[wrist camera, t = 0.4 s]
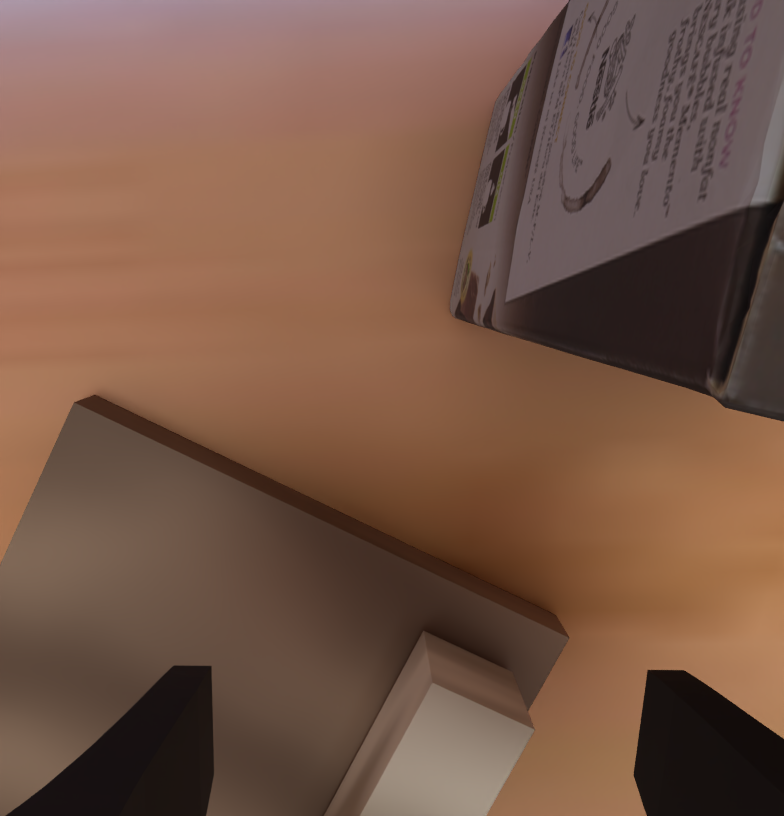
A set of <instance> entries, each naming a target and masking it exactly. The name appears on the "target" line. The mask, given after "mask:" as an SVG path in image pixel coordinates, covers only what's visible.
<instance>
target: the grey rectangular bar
mask: <svg viewBox="0 0 784 816" xmlns="http://www.w3.org/2000/svg"><path fill="white" fill-rule="evenodd" d="M534 730H535V729H534V726H533V723H532V721H531V718H530V716H529V713H528V711H527V708H526V706H525V703H524V700H523V698H522V695H521V693H520V690H519V688H518V685H517V683H516V680H515V677H514V675H513V672H511V671H509V670H507V669H505V668H503V667H500V666H498V665H496V664H494V663H492V662H490V661H488V660H485V659H483V658H481V657H479V656H477V655H475V654H473V653H470V652H468V651H466V650H464V649H462V648H460V647H458V646H455V645H453V644H451V643H449V642H447V641H445V640H443V639H440V638H438V637H436V636H434V635H432V634H430V633H428V632H425V631H423V632H422V634H421V636H420V638H419V640H418V642H417V644H416V645H415V647H414V649H413V651H412V653H411V655H410V657H409V658H408V660H407V662H406V664H405V666H404V668H403V670H402V671H401V673H400V675H399V677H398V679H397V681H396V683H395V685H394V686H393V688H392V690H391V692H390V694H389V696H388V698H387V699H386V701H385V703H384V705H383V707H382V709H381V711H380V712H379V714H378V716H377V718H376V720H375V722H374V724H373V725H372V727H371V729H370V731H369V733H368V735H367V737H366V738H365V740H364V742H363V744H362V746H361V748H360V750H359V751H358V753H357V755H356V757H355V759H354V761H353V763H352V764H351V766H350V768H349V770H348V772H347V774H346V776H345V777H344V779H343V781H342V783H341V785H340V787H339V789H338V790H337V792H336V794H335V796H334V798H333V800H332V802H331V803H330V805H329V807H328V809H327V811H326V813H325V815H324V816H486V815H487V813H488V811H489V809H490V808H491V806H492V804H493V802H494V801H495V799H496V797H497V795H498V794H499V792H500V790H501V788H502V787H503V785H504V783H505V781H506V780H507V778H508V776H509V774H510V773H511V771H512V769H513V767H514V766H515V764H516V762H517V760H518V759H519V757H520V755H521V753H522V751H523V750H524V748H525V746H526V744H527V743H528V741H529V739H530V737H531V736H532V734H533V732H534Z"/></svg>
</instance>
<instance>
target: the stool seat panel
mask: <svg viewBox="0 0 784 816" xmlns="http://www.w3.org/2000/svg"><path fill="white" fill-rule="evenodd" d="M423 631H425V632H428V633H430V634H432V635H434V636H436V637H438V638H440V639H443V640H445V641H447V642H449V643H451V644H453V645H455V646H458V647H460V648H462V649H464V650H466V651H468V652H470V653H473V654H475V655H477V656H479V657H481V658H483V659H485V660H488V661H490V662H492V663H494V664H496V665H498V666H500V667H503V668H505V669H507V670H509V671H511V672H513V675H514V677H515V680H516V683H517V685H518V688H519V690H520V693H521V695H522V698H523V700H524V703H525V706H526V708H527V711H528V710H529V708H530V707H531V705H532V703H533V701H534V700H535V698H536V696H537V694H538V692H539V691H540V689H541V687H542V685H543V684H544V682H545V680H546V678H547V677H548V675H549V673H550V671H551V669H552V668H553V666H554V664H555V662H556V661H557V659H558V657H559V655H560V654H561V652H562V650H563V648H564V646H565V645H566V643H567V641H568V639H569V636H568V635H567V633H566V631H565V630H564V628H563V626H562V625H561V623H560V621H559V620H558V618H557V616H556V615H554V614H552V613H550V612H548V611H546V610H544V609H542V608H539V607H537V606H535V605H533V604H531V603H529V602H527V601H525V600H523V599H521V598H518V597H516V596H514V595H512V594H510V593H508V592H506V591H504V590H502V589H500V588H498V587H495V586H493V585H491V584H489V583H487V582H485V581H483V580H481V579H479V578H477V577H475V576H472V575H470V574H468V573H466V572H464V571H462V570H460V569H458V568H456V567H454V566H451V565H449V564H447V563H445V562H443V561H441V560H439V559H437V558H435V557H433V556H431V555H428V554H426V553H424V552H422V551H420V550H418V549H416V548H414V547H412V546H410V545H408V544H405V543H403V542H401V541H399V540H397V539H395V538H393V537H391V536H389V535H387V534H385V533H382V532H380V531H378V530H376V529H374V528H372V527H370V526H368V525H366V524H364V523H361V522H359V521H357V520H355V519H353V518H351V517H349V516H347V515H345V514H343V513H341V512H338V511H336V510H334V509H332V508H330V507H328V506H326V505H324V504H322V503H320V502H318V501H315V500H313V499H311V498H309V497H307V496H305V495H303V494H301V493H299V492H297V491H295V490H292V489H290V488H288V487H286V486H284V485H282V484H280V483H278V482H276V481H274V480H271V479H269V478H267V477H265V476H263V475H261V474H259V473H257V472H255V471H253V470H251V469H248V468H246V467H244V466H242V465H240V464H238V463H236V462H234V461H232V460H230V459H228V458H225V457H223V456H221V455H219V454H217V453H215V452H213V451H211V450H209V449H207V448H204V447H202V446H200V445H198V444H196V443H194V442H192V441H190V440H188V439H186V438H184V437H181V436H179V435H177V434H175V433H173V432H171V431H169V430H167V429H165V428H163V427H161V426H158V425H156V424H154V423H152V422H150V421H148V420H146V419H144V418H142V417H140V416H138V415H135V414H133V413H131V412H129V411H127V410H125V409H123V408H121V407H119V406H117V405H114V404H112V403H110V402H108V401H106V400H104V399H102V398H100V397H98V396H96V395H93V396H90V397H88V398H85V399H82V400H79V401H77V402H74V404H73V406H72V408H71V410H70V412H69V415H68V417H67V419H66V421H65V423H64V426H63V428H62V430H61V432H60V434H59V437H58V439H57V441H56V443H55V445H54V448H53V450H52V452H51V454H50V456H49V459H48V461H47V463H46V465H45V467H44V470H43V472H42V474H41V476H40V478H39V481H38V483H37V485H36V487H35V489H34V492H33V494H32V496H31V498H30V500H29V503H28V505H27V507H26V509H25V511H24V514H23V516H22V518H21V520H20V522H19V525H18V527H17V529H16V531H15V533H14V536H13V538H12V540H11V542H10V544H9V547H8V549H7V551H6V553H5V555H4V558H3V560H2V562H1V564H0V816H6V815H7V814H8V813H10V812H11V811H12V810H14V809H15V808H17V807H18V806H19V805H21V804H22V803H23V802H25V801H26V800H27V799H29V798H30V797H31V796H33V795H34V794H35V793H36V792H38V791H39V790H40V789H42V788H43V787H44V786H45V785H47V784H48V783H49V782H50V781H51V780H52V779H54V778H55V777H56V776H57V775H58V774H59V773H61V772H62V771H63V770H64V769H65V768H66V767H68V766H69V765H70V764H71V763H72V762H73V761H75V760H76V759H77V758H78V757H79V756H80V755H82V754H83V753H84V752H85V751H86V750H87V749H88V748H89V747H90V746H91V745H93V744H94V743H95V742H96V741H97V740H98V739H99V738H100V737H101V736H102V735H103V734H104V733H105V732H106V731H107V730H108V729H109V728H110V727H112V726H113V725H114V724H115V723H116V722H117V721H118V720H119V719H120V718H121V717H122V716H123V715H124V714H125V713H126V712H127V711H128V710H129V709H130V708H131V707H132V706H133V705H134V704H135V703H136V702H137V701H138V700H139V699H140V698H141V697H142V696H143V695H144V694H145V693H146V692H147V691H148V690H149V689H150V688H151V687H152V686H153V685H154V684H155V683H156V682H157V681H158V680H159V679H160V678H161V677H162V676H163V675H164V674H165V673H166V672H167V671H168V670H169V669H170V668H171V667H172V666H174V665H184V666H212V706H213V746H214V777H213V783H212V788H211V793H210V798H209V804H208V809H207V814H206V816H324V815H325V813H326V811H327V809H328V807H329V805H330V803H331V802H332V800H333V798H334V796H335V794H336V792H337V790H338V789H339V787H340V785H341V783H342V781H343V779H344V777H345V776H346V774H347V772H348V770H349V768H350V766H351V764H352V763H353V761H354V759H355V757H356V755H357V753H358V751H359V750H360V748H361V746H362V744H363V742H364V740H365V738H366V737H367V735H368V733H369V731H370V729H371V727H372V725H373V724H374V722H375V720H376V718H377V716H378V714H379V712H380V711H381V709H382V707H383V705H384V703H385V701H386V699H387V698H388V696H389V694H390V692H391V690H392V688H393V686H394V685H395V683H396V681H397V679H398V677H399V675H400V673H401V671H402V670H403V668H404V666H405V664H406V662H407V660H408V658H409V657H410V655H411V653H412V651H413V649H414V647H415V645H416V644H417V642H418V640H419V638H420V636H421V634H422V632H423Z"/></svg>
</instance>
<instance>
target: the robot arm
mask: <svg viewBox="0 0 784 816" xmlns="http://www.w3.org/2000/svg"><path fill="white" fill-rule="evenodd" d="M213 777H214V746H213V706H212V666H184V665H174V666H172V667H171V668H170V669H169V670H168V671H167V672H166V673H165V674H164V675H163V676H162V677H161V678H160V679H159V680H158V681H157V682H156V683H155V684H154V685H153V686H152V687H151V688H150V689H149V690H148V691H147V692H146V693H145V694H144V695H143V696H142V697H141V698H140V699H139V700H138V701H137V702H136V703H135V704H134V705H133V706H132V707H131V708H130V709H129V710H128V711H127V712H126V713H125V714H124V715H123V716H122V717H121V718H120V719H119V720H118V721H117V722H116V723H115V724H114V725H113V726H112V727H110V728H109V729H108V730H107V731H106V732H105V733H104V734H103V735H102V736H101V737H100V738H99V739H98V740H97V741H96V742H95V743H94V744H93V745H91V746H90V747H89V748H88V749H87V750H86V751H85V752H84V753H83V754H82V755H80V756H79V757H78V758H77V759H76V760H75V761H73V762H72V763H71V764H70V765H69V766H68V767H66V768H65V769H64V770H63V771H62V772H61V773H59V774H58V775H57V776H56V777H55V778H54V779H52V780H51V781H50V782H49V783H48V784H47V785H45V786H44V787H43V788H42V789H40V790H39V791H38V792H36V793H35V794H34V795H33V796H31V797H30V798H29V799H27V800H26V801H25V802H23V803H22V804H21V805H19V806H18V807H17V808H15V809H14V810H12V811H11V812H10V813H8V814H7V815H6V816H206V814H207V809H208V804H209V798H210V793H211V788H212V783H213ZM634 778H635V781H636V784H637V787H638V790H639V793H640V796H641V799H642V802H643V806H644V809H645V811H646V814H647V816H784V739H783V738H782V737H780V736H779V735H777V734H776V733H774V732H773V731H772V730H770V729H769V728H767V727H766V726H764V725H763V724H762V723H760V722H759V721H757V720H756V719H754V718H753V717H752V716H750V715H749V714H747V713H746V712H745V711H743V710H742V709H740V708H739V707H738V706H736V705H735V704H733V703H732V702H730V701H729V700H728V699H726V698H725V697H723V696H722V695H721V694H719V693H718V692H716V691H715V690H713V689H712V688H711V687H709V686H708V685H706V684H705V683H703V682H702V681H700V680H699V679H697V678H696V677H694V676H692V675H691V674H689V673H687V672H686V671H684V670H648V672H647V680H646V687H645V695H644V702H643V709H642V717H641V724H640V731H639V739H638V746H637V754H636V761H635V768H634Z"/></svg>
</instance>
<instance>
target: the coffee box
mask: <svg viewBox="0 0 784 816" xmlns="http://www.w3.org/2000/svg"><path fill="white" fill-rule="evenodd" d="M450 312H451V314H452V316H453V317H455V318H457V319H460V320H463V321H466V322H469V323H472V324H475V325H478V326H481V327H484V328H488V329H491V330H494V331H497V332H500V333H503V334H506V335H510V336H514V337H517V338H520V339H524V340H527V341H530V342H534V343H537V344H540V345H544V346H547V347H550V348H554V349H557V350H560V351H563V352H566V353H570V354H573V355H577V356H580V357H583V358H587V359H590V360H594V361H597V362H600V363H604V364H607V365H611V366H614V367H618V368H621V369H625V370H628V371H631V372H635V373H638V374H642V375H645V376H648V377H652V378H655V379H658V380H662V381H665V382H669V383H672V384H675V385H679V386H682V387H686V388H689V389H692V390H694V391H697V392H700V393H703V394H706V395H709V396H712V397H714V398H715V399H716V400H717V401H718V402H720V403H721V404H722V405H723V406H724V407H725V408H729V409H733V410H737V411H742V412H746V413H750V414H754V415H759V416H763V417H767V418H771V419H775V420H780V421H784V0H569V2H568V3H567V4H566V6H565V7H564V8H563V9H562V11H561V12H560V13H559V15H558V16H557V17H556V19H555V20H554V21H553V22H552V24H551V25H550V27H549V28H548V29H547V31H546V32H545V34H544V35H543V36H542V38H541V39H540V40H539V42H538V43H537V44H536V46H535V47H534V48H533V49H532V51H531V52H530V53H529V55H528V56H527V58H526V60H525V61H524V63H523V64H522V65H521V67H520V68H519V69H518V70H517V72H516V73H515V75H514V76H513V77H512V79H511V80H510V81H509V83H508V84H507V86H506V87H505V88H504V90H503V91H502V92H501V94H500V95H499V97H498V98H497V100H496V102H495V106H494V110H493V114H492V118H491V122H490V127H489V131H488V135H487V139H486V143H485V147H484V152H483V156H482V160H481V165H480V169H479V173H478V177H477V182H476V186H475V190H474V195H473V199H472V203H471V208H470V212H469V216H468V221H467V225H466V229H465V233H464V238H463V242H462V246H461V251H460V255H459V260H458V265H457V270H456V275H455V280H454V285H453V290H452V295H451V300H450Z"/></svg>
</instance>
